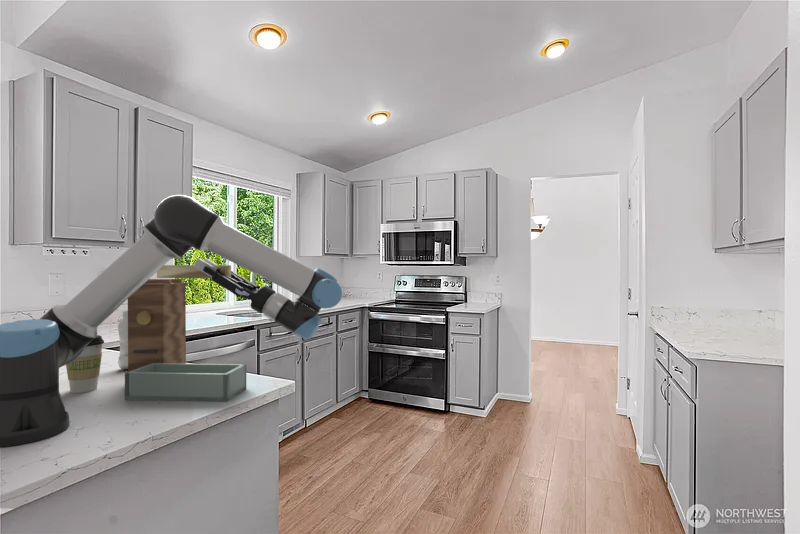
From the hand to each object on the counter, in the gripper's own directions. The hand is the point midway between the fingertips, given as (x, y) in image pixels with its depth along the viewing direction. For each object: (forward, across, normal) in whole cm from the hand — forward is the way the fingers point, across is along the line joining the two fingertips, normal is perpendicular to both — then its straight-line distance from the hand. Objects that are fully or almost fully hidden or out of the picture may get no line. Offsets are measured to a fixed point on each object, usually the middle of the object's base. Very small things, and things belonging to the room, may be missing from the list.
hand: (199, 262), depth 128 cm
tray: (-18, -5, -32) cm, 37 cm away
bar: (-1, 0, -5) cm, 5 cm away
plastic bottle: (+13, +22, -50) cm, 56 cm away
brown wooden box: (-3, +9, -40) cm, 42 cm away
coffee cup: (+10, -3, -48) cm, 49 cm away
